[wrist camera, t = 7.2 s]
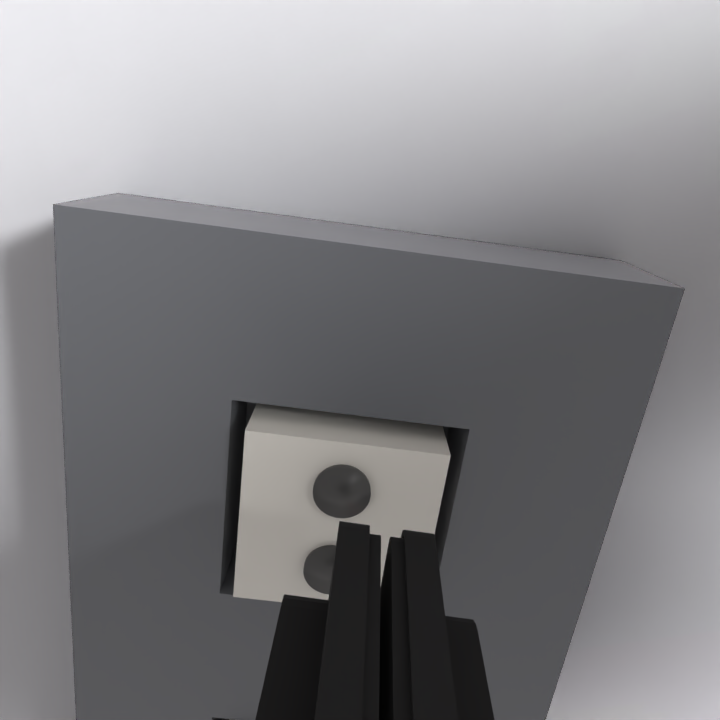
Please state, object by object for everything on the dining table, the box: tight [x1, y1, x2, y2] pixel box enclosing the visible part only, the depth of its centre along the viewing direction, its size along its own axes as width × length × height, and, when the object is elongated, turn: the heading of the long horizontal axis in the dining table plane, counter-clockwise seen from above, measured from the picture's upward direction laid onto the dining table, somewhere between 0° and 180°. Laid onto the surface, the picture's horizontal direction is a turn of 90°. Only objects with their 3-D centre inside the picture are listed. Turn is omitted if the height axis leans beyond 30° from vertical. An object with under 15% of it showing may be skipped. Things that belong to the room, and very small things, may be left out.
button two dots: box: [233, 403, 451, 602], centre depth 14 cm, size 4×4×3 cm
